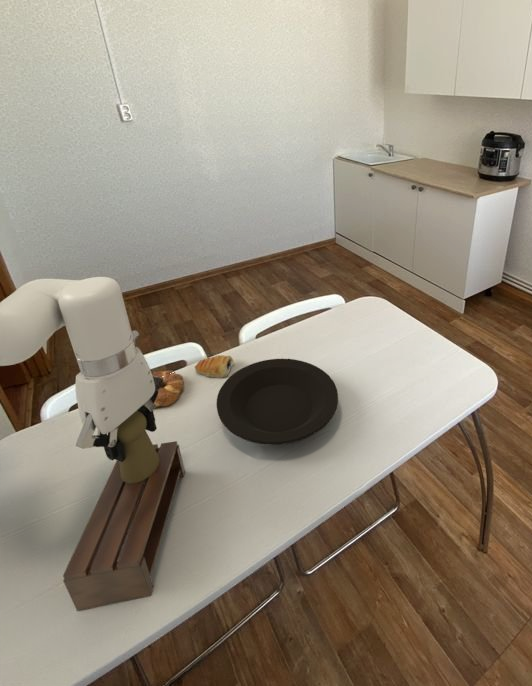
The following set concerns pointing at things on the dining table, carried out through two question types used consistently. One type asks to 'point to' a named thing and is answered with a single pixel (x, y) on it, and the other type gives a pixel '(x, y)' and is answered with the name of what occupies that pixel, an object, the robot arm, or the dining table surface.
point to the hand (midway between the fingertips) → (133, 442)
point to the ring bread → (168, 388)
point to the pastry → (215, 366)
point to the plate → (277, 401)
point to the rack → (124, 535)
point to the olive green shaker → (136, 449)
